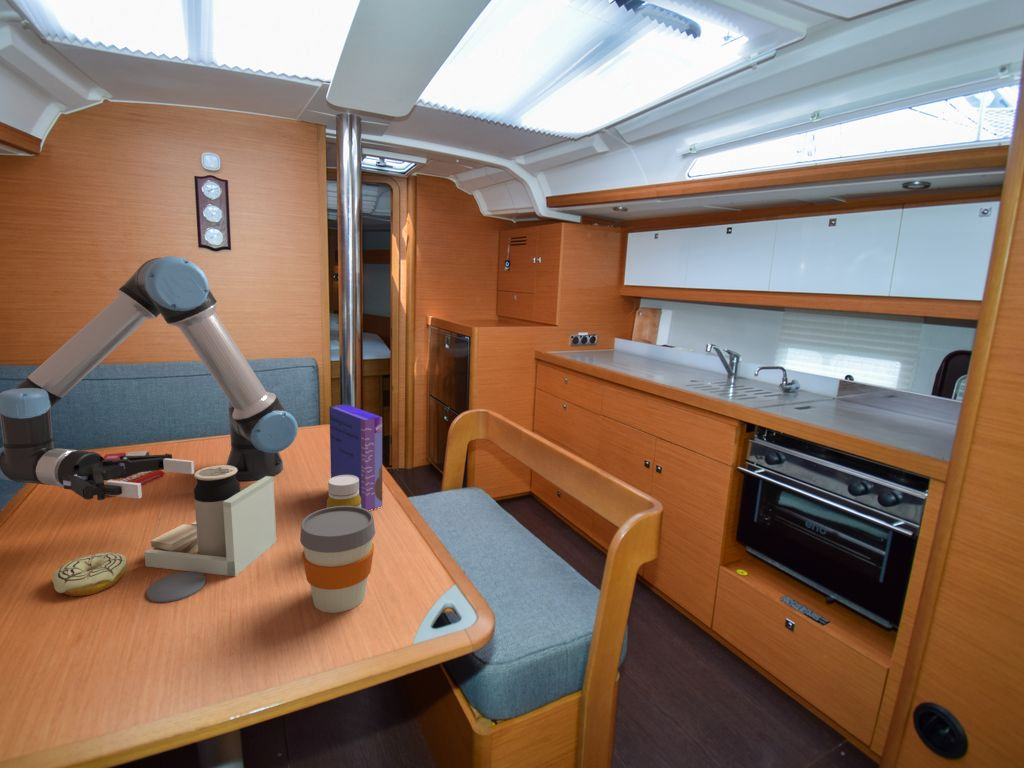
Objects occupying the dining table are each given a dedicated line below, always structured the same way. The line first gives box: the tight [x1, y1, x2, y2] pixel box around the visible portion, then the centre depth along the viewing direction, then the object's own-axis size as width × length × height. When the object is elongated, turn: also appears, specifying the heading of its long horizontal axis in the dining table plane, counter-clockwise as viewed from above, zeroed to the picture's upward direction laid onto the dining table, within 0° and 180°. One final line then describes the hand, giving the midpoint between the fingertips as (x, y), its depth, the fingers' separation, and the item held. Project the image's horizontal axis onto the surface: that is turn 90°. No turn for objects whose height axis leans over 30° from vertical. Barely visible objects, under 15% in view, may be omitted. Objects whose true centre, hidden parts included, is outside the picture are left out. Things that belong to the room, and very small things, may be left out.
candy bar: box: [118, 470, 166, 486], centre depth 137 cm, size 16×4×3 cm, turn 170°
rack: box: [143, 476, 277, 577], centre depth 103 cm, size 19×14×15 cm
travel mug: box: [193, 464, 241, 557], centre depth 103 cm, size 8×8×18 cm
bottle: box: [326, 475, 361, 508], centre depth 109 cm, size 7×7×15 cm
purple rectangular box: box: [328, 403, 383, 510], centre depth 132 cm, size 17×5×24 cm, turn 47°
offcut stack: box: [150, 523, 198, 554], centre depth 105 cm, size 7×10×4 cm, turn 173°
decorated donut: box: [51, 552, 128, 597], centre depth 93 cm, size 10×11×4 cm
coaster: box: [146, 571, 206, 603], centre depth 93 cm, size 9×9×1 cm
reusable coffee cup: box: [299, 506, 376, 614], centre depth 91 cm, size 13×13×15 cm
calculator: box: [102, 450, 150, 480], centre depth 147 cm, size 11×4×15 cm
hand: (168, 478), depth 102 cm, fingers open, 13 cm apart
